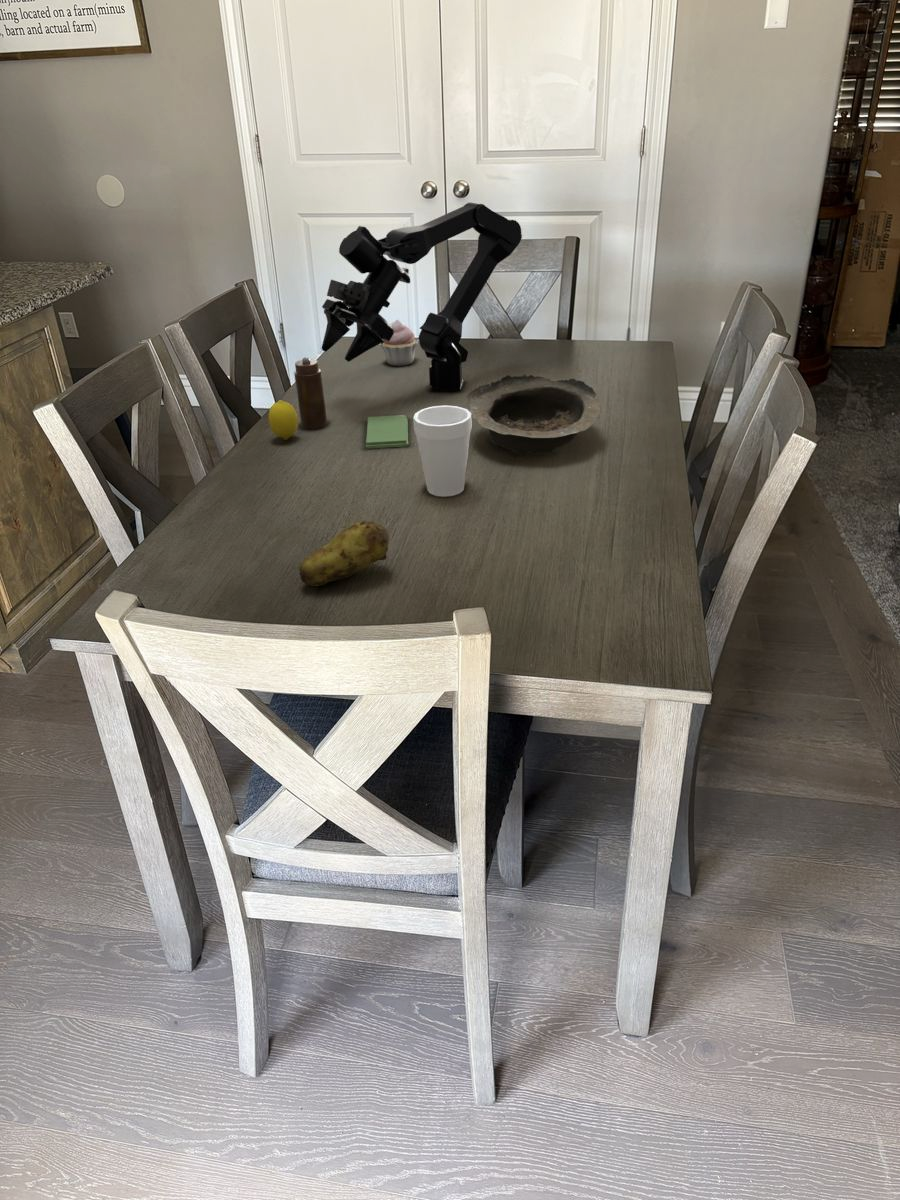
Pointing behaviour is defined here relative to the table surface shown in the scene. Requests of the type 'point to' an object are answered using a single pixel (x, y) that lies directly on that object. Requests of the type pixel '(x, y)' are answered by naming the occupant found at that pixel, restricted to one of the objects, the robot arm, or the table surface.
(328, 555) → the potato
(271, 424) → the lemon
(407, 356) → the cupcake
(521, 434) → the stone bowl
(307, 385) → the pepper mill
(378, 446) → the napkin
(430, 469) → the foam cup
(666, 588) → the table surface
